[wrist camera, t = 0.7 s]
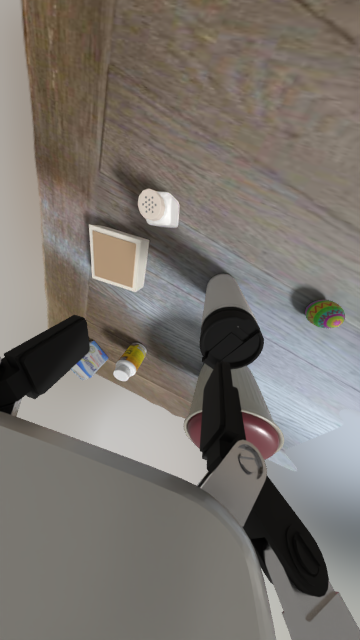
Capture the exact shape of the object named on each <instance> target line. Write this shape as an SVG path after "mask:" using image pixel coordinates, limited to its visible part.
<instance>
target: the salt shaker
mask: <svg viewBox="0 0 360 640" xmlns="http://www.w3.org/2000/svg"><path fill="white" fill-rule="evenodd" d="M138 207H139V211H140V213H141V214H142V216H143V217H144V218H146V221H147V223H148V224H150V225H154V226H159V227H169V228H176V227H177V226H178V222H179V202H178V201H177V200H176V199H175V198H174V197H173V196H172V195H171V194H170V193H168V192H157V191H154V190H152V189H146V190H143V191H142V193H141V194H140V195H139V199H138Z"/></svg>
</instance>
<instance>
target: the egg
mask: <svg viewBox="0 0 360 640" xmlns="http://www.w3.org/2000/svg"><path fill="white" fill-rule="evenodd" d="M305 315H306V318H307V319H308V321H309V322H311V323H312V324H314V325H316V326H318V327H322V328H335V327H338V326H340V325H341V324H342V323H343V322H344V320H345V313H344V311H343V309H342V308H341V307H340V306H339V305H338V304H337V303H335V302H333V301H329V300H317V301H314V302H312V303H310V304H309V305H308V306H307V308H306V310H305Z"/></svg>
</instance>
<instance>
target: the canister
mask: <svg viewBox="0 0 360 640" xmlns="http://www.w3.org/2000/svg"><path fill="white" fill-rule="evenodd" d="M212 371H213V369H212V368H211V367H209V366H208V365H206V364H204V366H203V367H202V369H201V371H200V374H199V377H198V381H197V384H196V388H195V392H194V396H193V400H192V404H191V408H190V413H189V415H188V416H187V418H186V419H185V421H184V430H185V433H186V435H187V436H188V437H189V439H190V440H191V441H192V442H193V443H194V444H195V445H196V446H197V447H198V448H200V435H201V420H202V405H203V391H204V387H205V385H206V383H207V381H208V379H209V377H210V375H211V373H212ZM231 374H232V382H233V386H234V387H236V388H237V389H238V392H239V398H240V404H241V410H242V417H243V423H244V429H245V435H246V441H248V442H250V443H252V444H253V445H254V446H255V447H256V448H257V449H258V450H259V452H260V453H261V455H262V457H263V459H264V460H265V459H267V458H269V457H271V456H272V455H273V454H275V453H276V452H278V451H279V450H280V449H281V448H282V446H283V444H284V436H283V433H282V431H281V430H280V428H279V427H278V426H277V425H276V424H275V423H274V421H273V419H272V417H271V414H270V412H269V410H268V407H267V405H266V403H265V401H264V398H263V396H262V394H261V391H260V389H259V387H258V385H257V383H256V381H255V379H254V376H253V374H252V373H251V371H250V369H249V368H248V367H247V366H244V367H242V368H238V369H231Z"/></svg>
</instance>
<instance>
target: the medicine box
mask: <svg viewBox="0 0 360 640" xmlns="http://www.w3.org/2000/svg"><path fill="white" fill-rule="evenodd" d="M89 345H90V351H89V352H88V354H87V355H85V356H84V357H83V358H82V359H81V360H80V361H79V362H78V363H77V364H76V365H75V366H73V367H72V368H71V370H72V371H73V372H74V373H75V374H76V375H77V376H78V377H79V378H80V379H81V380H85V379H89V378H91V377H92V376H93V375H94V374H95V373H96V372H97V370H98V369H99V368H100V367H101V366H102V365H103V364H104V363H105V362H106V360H107V359H108V356H107V355H106V354H105V353H104V352H103V350H102V349H101V348H100V347H99V346H98V345H97V343H96V342H95V341H91V342H89Z"/></svg>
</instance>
